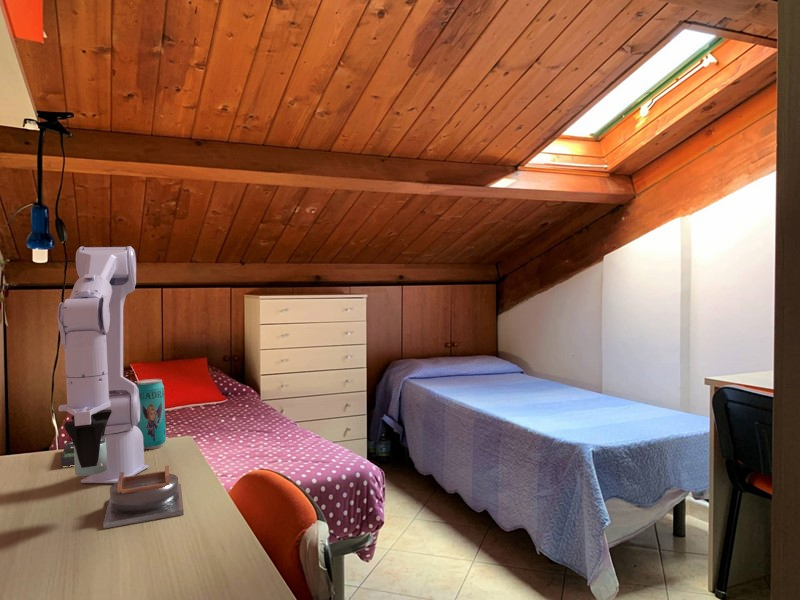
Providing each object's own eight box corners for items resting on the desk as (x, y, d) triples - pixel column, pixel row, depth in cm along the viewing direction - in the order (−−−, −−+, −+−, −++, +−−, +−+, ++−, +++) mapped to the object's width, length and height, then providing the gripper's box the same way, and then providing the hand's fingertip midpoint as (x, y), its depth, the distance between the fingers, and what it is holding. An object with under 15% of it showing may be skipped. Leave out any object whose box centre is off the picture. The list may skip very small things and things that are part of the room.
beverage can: (141, 452, 122) (138, 383, 122) (136, 446, 127) (133, 380, 127) (169, 447, 126) (166, 380, 126) (162, 442, 130) (160, 377, 130)
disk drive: (65, 454, 126) (61, 471, 113) (64, 441, 126) (60, 457, 113) (117, 446, 131) (119, 461, 118) (116, 434, 131) (118, 448, 117)
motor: (110, 499, 94) (109, 468, 94) (180, 488, 99) (179, 458, 98) (103, 528, 82) (101, 492, 82) (183, 514, 87) (182, 480, 87)
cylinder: (77, 469, 89) (75, 437, 89) (108, 465, 90) (107, 434, 90) (73, 477, 85) (71, 444, 85) (105, 472, 86) (104, 440, 86)
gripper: (65, 371, 92) (69, 453, 93) (48, 384, 79) (52, 480, 79) (113, 367, 95) (117, 447, 95) (104, 379, 82) (108, 472, 82)
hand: (91, 461), depth 88 cm, fingers closed on cylinder, 4 cm apart
